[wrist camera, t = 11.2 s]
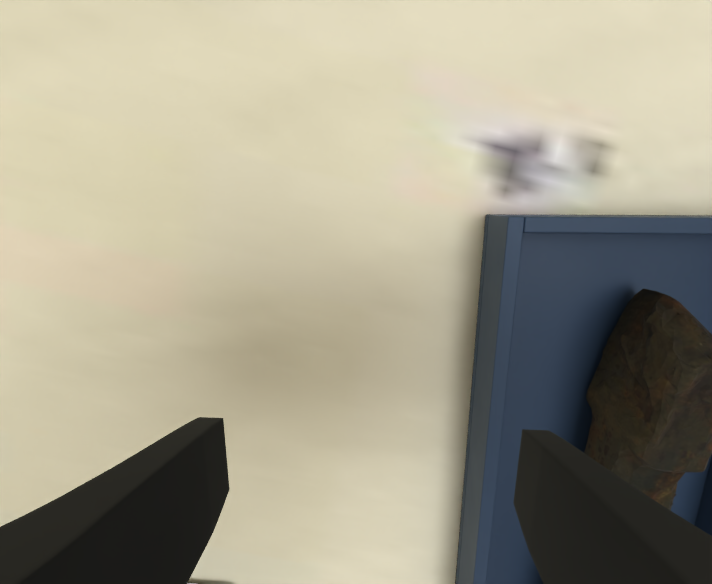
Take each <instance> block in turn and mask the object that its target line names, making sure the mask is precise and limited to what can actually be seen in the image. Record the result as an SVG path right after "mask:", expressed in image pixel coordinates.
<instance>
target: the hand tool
mask: <svg viewBox="0 0 712 584" xmlns="http://www.w3.org/2000/svg"><path fill="white" fill-rule="evenodd" d="M586 399H587V402H588V404H589V406H590V407H591V410H592V422H591V425H590V429H589V436H588V440H587V444H586V448H585V451H584V453H585V454H586V455H588V456H589V457H591V458H592V459H594V460H595V461H597V462H598V463H600V464H601V465H603V466H604V467H605V468H607V469H608V470H610V471H611V472H613V473H614V474H616V475H617V476H619V477H620V478H622V479H623V480H625V481H626V482H628V483H629V484H631V485H632V486H634V487H635V488H637V489H638V490H640V491H641V492H643V493H644V494H646V495H647V496H649V497H650V498H652V499H653V500H655V501H656V502H658V503H660V504H661V505H663V506H664V507H666V508H667V509H669V510H670V511H671V507H672V505H673V499H674V497H675V496H676V495H677V494H675V493H676V488H677V483H678V481H679V480H680V478H681V477H682V476H683V475H684V474H685V472H703V471H704V470H705V469H706V467H707V464H708V460H709V458H710V456H711V454H712V334H711V333H710V332H709V331H708V330H707V329H706V328H705V327H704V326H703V325H702V324H701V323H700V322H699V321H698V320H697V319H696V318H695V317H694V316H693V315H692V314H691V313H690V312H689V311H688V310H687V309H686V308H685V307H684V306H683V305H682V304H681V303H680V302H679V301H677V300H676V299H674V298H672V297H671V296H668V295H666V294H663V293H660V292H657V291H653V290H648V289H644V288H643V289H642V290H641V291H639V292H638V293H637V294H635V295H634V297H633V298H632V299H631V300H630V301H629V302H628V304H627V305H626V307H625V309H624V311H623V313H622V315H621V317H620V318H619V320H618V322H617V324H616V326H615V328H614V330H613V331H612V333H611V334H610V336H609V338H608V340H607V344H606V346H605V348H604V350H603V355H602V358H601V361H600V363H599V365H598V367H597V370H596V372H595V374H594V377H593V379H592V381H591V383H590V385H589V388H588V390H587V393H586Z"/></svg>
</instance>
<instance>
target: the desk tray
mask: <svg viewBox="0 0 712 584" xmlns="http://www.w3.org/2000/svg"><path fill="white" fill-rule="evenodd" d="M643 288H644V289H648V290H653V291H657V292H660V293H663V294H666V295H668V296H671V297H672V298H674V299H676V300H677V301H679V302H680V303H681V304H682V305H683V306H684V307H685V308H686V309H687V310H688V311H689V312H690V313H691V314H692V315H693V316H694V317H695V318H696V319H697V320H698V321H699V322H700V323H701V324H702V325H703V326H704V327H705V328H706V329H707V330H708V331H709V332H710V333H711V334H712V216H681V215H493V214H487V215H486V217H485V229H484V242H483V254H482V266H481V278H480V290H479V302H478V315H477V327H476V339H475V351H474V363H473V375H472V388H471V400H470V412H469V424H468V436H467V448H466V461H465V473H464V485H463V497H462V509H461V521H460V534H459V546H458V558H457V570H456V582H455V584H544V583H543V581H542V579H541V577H540V574H539V572H538V570H537V568H536V566H535V563H534V561H533V559H532V556H531V554H530V552H529V550H528V547H527V544H526V541H525V538H524V535H523V532H522V529H521V526H520V523H519V519H518V516H517V513H516V510H515V506H514V503H513V502H514V494H515V486H516V477H517V469H518V461H519V452H520V444H521V436H522V429H527V430H549V431H551V432H553V433H554V434H556V435H558V436H559V437H561V438H563V439H564V440H566V441H567V442H569V443H570V444H572V445H573V446H575V447H576V448H578V449H579V450H581V451H582V452H584V451H585V448H586V444H587V440H588V436H589V429H590V425H591V422H592V410H591V407H590V406H589V404H588V402H587V399H586V393H587V390H588V388H589V385H590V383H591V381H592V379H593V377H594V374H595V372H596V370H597V367H598V365H599V363H600V361H601V358H602V355H603V350H604V348H605V346H606V344H607V340H608V338H609V336H610V334H611V333H612V331H613V330H614V328H615V326H616V324H617V322H618V320H619V318H620V317H621V315H622V313H623V311H624V309H625V307H626V305H627V304H628V302H629V301H630V300H631V299H632V298H633V297H634V295H635V294H637V293H638V292H639V291H641V290H642V289H643ZM675 494H677V495H676V496H675V497H674V499H673V505H672V507H671V511H672V512H674V513H675V514H677V515H678V516H680V517H682V518H683V519H685V520H687V521H688V522H690V523H691V524H693V525H695V526H696V527H698V528H700V529H701V530H703V531H704V532H706V533H708V534H709V535H711V536H712V454H711V456H710V458H709V460H708V464H707V467H706V469H705V470H704V471H703V472H685V474H684V475H683V476H682V477H681V478H680V480H679V481H678V483H677V488H676V493H675Z"/></svg>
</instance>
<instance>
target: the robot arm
mask: <svg viewBox="0 0 712 584" xmlns="http://www.w3.org/2000/svg"><path fill="white" fill-rule="evenodd" d="M228 492H229V481H228V469H227V458H226V446H225V435H224V423H223V418H202V417H199V418H197V419H195V420H193V421H191V422H189V423H187V424H185V425H184V426H182V427H180V428H178V429H177V430H175V431H173V432H172V433H170V434H168V435H167V436H165V437H163V438H162V439H160V440H158V441H157V442H155V443H153V444H152V445H150V446H148V447H147V448H145V449H143V450H142V451H140V452H138V453H137V454H135V455H133V456H132V457H130V458H128V459H127V460H125V461H123V462H122V463H120V464H118V465H116V466H115V467H113V468H111V469H109V470H108V471H106V472H104V473H102V474H101V475H99V476H97V477H95V478H93V479H92V480H90V481H88V482H86V483H84V484H83V485H81V486H79V487H77V488H75V489H74V490H72V491H70V492H68V493H66V494H65V495H63V496H61V497H59V498H57V499H55V500H53V501H52V502H50V503H48V504H46V505H44V506H42V507H40V508H38V509H36V510H34V511H32V512H30V513H28V514H26V515H24V516H22V517H20V518H18V519H16V520H14V521H12V522H10V523H7V524H5V525H3V526H1V527H0V584H196V583H187V582H188V580H189V578H190V576H191V574H192V573H193V571H194V569H195V567H196V565H197V563H198V561H199V559H200V557H201V555H202V553H203V551H204V549H205V547H206V545H207V543H208V541H209V539H210V537H211V535H212V533H213V531H214V529H215V526H216V523H217V521H218V518H219V516H220V513H221V511H222V508H223V505H224V502H225V500H226V497H227V494H228ZM513 503H514V506H515V510H516V513H517V516H518V519H519V523H520V526H521V529H522V532H523V535H524V538H525V541H526V544H527V547H528V550H529V552H530V554H531V556H532V559H533V561H534V563H535V566H536V568H537V570H538V572H539V574H540V577H541V579H542V581H543V583H544V584H712V536H711V535H709V534H708V533H706V532H704V531H703V530H701V529H700V528H698V527H696V526H695V525H693V524H691V523H690V522H688V521H687V520H685V519H683V518H682V517H680V516H678V515H677V514H675V513H674V512H672V511H670V510H669V509H667V508H666V507H664V506H663V505H661V504H660V503H658V502H656V501H655V500H653V499H652V498H650V497H649V496H647V495H646V494H644V493H643V492H641V491H640V490H638V489H637V488H635V487H634V486H632V485H631V484H629V483H628V482H626V481H625V480H623V479H622V478H620V477H619V476H617V475H616V474H614V473H613V472H611V471H610V470H608V469H607V468H605V467H604V466H603V465H601V464H600V463H598V462H597V461H595V460H594V459H592V458H591V457H589V456H588V455H586V454H585V453H584V452H582V451H581V450H579V449H578V448H576V447H575V446H573V445H572V444H570V443H569V442H567V441H566V440H564V439H563V438H561V437H559V436H558V435H556V434H554V433H553V432H551V431H549V430H527V429H522V436H521V444H520V452H519V461H518V469H517V477H516V486H515V494H514V502H513Z"/></svg>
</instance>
